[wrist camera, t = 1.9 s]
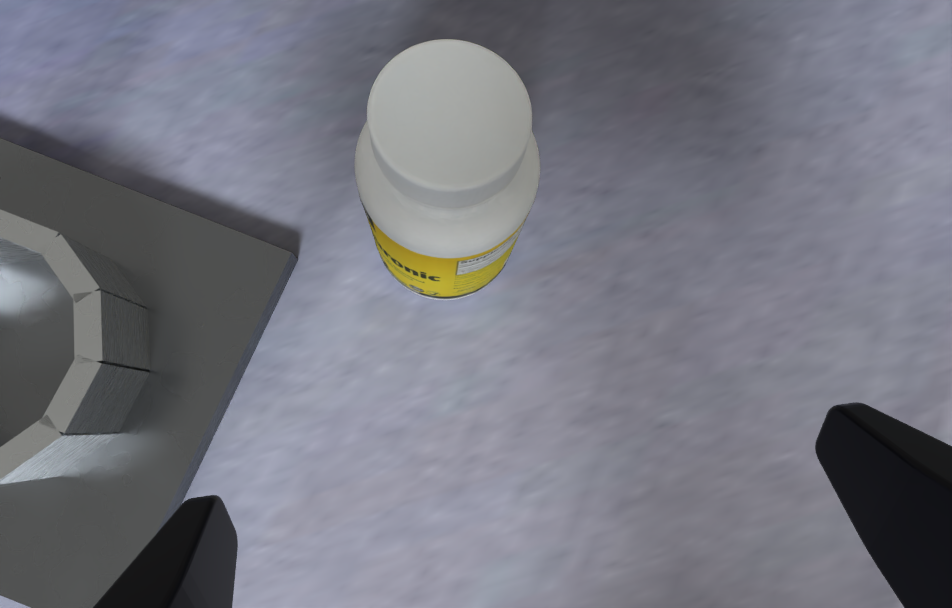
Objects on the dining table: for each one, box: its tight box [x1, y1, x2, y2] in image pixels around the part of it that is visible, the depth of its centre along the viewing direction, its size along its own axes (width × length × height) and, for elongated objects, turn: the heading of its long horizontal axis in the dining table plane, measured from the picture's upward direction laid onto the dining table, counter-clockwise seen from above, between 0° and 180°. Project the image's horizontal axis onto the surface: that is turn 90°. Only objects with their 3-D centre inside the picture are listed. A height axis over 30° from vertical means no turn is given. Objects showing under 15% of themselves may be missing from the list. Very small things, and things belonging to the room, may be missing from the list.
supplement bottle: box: [355, 39, 540, 300], centre depth 18 cm, size 5×5×10 cm
